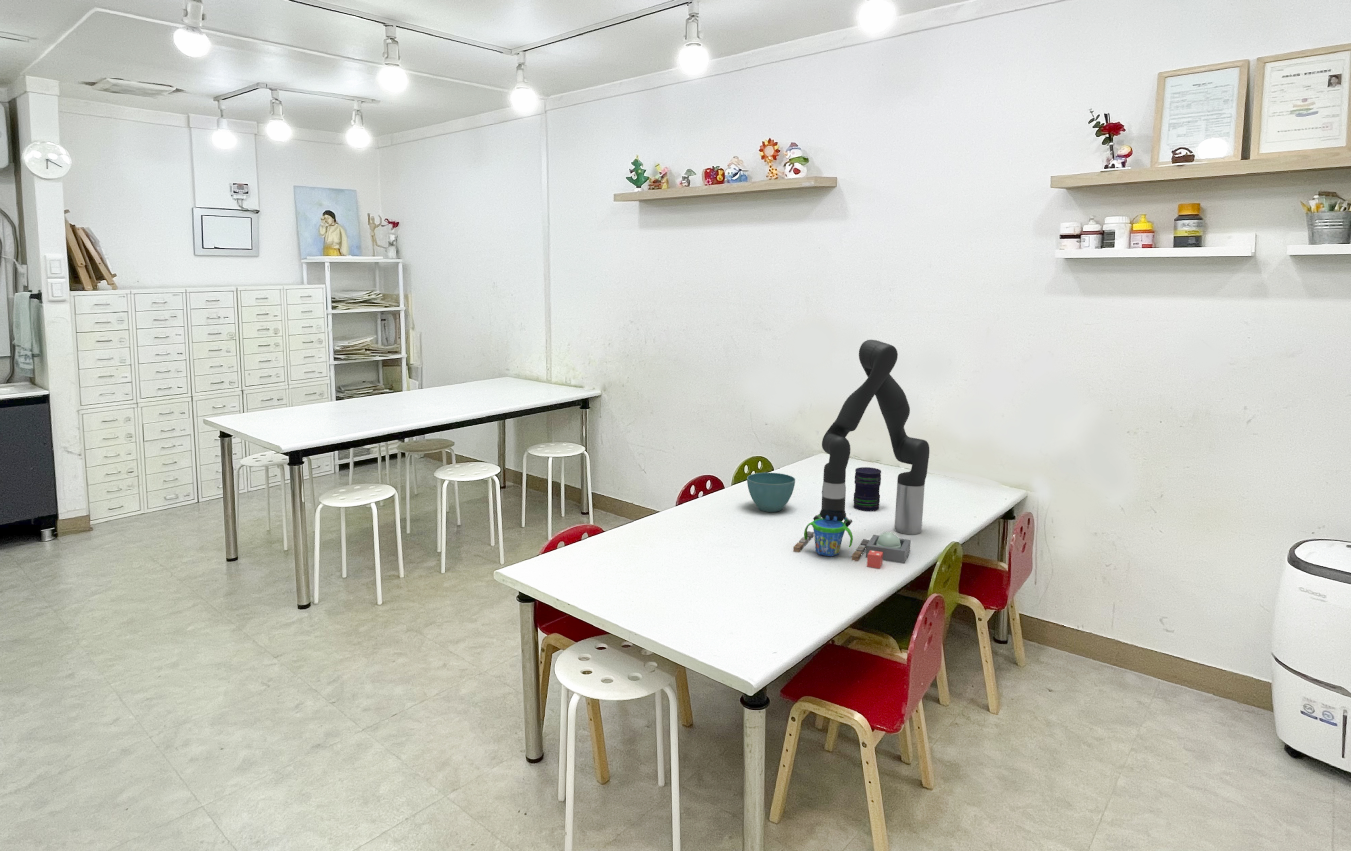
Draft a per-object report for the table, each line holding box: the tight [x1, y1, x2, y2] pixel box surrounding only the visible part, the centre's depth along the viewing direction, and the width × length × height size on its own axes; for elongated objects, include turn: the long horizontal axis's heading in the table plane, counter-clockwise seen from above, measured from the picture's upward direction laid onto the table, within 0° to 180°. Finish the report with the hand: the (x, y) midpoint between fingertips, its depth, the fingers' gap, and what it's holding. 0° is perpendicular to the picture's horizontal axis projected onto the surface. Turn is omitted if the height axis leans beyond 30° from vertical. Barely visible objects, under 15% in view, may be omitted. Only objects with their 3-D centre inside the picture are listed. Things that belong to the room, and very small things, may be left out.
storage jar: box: [853, 466, 882, 512], centre depth 313 cm, size 10×10×15 cm
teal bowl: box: [746, 472, 796, 513], centre depth 310 cm, size 18×18×12 cm
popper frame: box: [865, 534, 912, 564], centre depth 262 cm, size 12×12×4 cm
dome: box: [876, 531, 901, 549], centre depth 262 cm, size 8×8×7 cm
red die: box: [866, 550, 884, 569], centre depth 252 cm, size 4×4×4 cm
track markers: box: [792, 530, 870, 562], centre depth 268 cm, size 18×21×2 cm
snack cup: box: [803, 517, 854, 557], centre depth 262 cm, size 16×10×10 cm
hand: (831, 545), depth 267 cm, fingers closed
